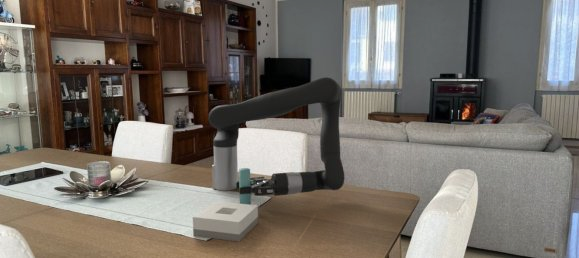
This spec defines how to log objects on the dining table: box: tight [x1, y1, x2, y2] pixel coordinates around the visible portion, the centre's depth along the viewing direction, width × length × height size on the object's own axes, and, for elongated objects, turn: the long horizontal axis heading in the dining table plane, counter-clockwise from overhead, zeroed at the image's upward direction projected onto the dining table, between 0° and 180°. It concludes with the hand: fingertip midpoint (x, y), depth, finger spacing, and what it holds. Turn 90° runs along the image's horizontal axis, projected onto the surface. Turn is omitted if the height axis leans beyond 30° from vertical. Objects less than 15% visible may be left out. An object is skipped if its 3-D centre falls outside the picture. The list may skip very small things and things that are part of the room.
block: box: [192, 201, 259, 242], centre depth 113 cm, size 14×14×6 cm
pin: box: [238, 167, 252, 205], centre depth 128 cm, size 4×4×14 cm
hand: (237, 187), depth 127 cm, fingers open, 6 cm apart
